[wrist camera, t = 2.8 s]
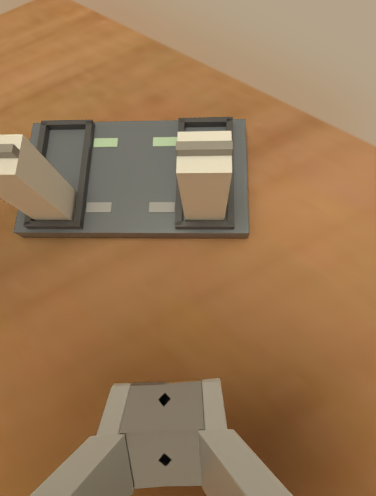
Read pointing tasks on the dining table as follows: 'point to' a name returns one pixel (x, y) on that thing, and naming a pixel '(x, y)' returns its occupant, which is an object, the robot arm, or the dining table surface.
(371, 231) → the dining table surface
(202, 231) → the grey rectangular board
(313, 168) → the dining table surface
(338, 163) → the dining table surface
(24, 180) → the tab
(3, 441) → the dining table surface
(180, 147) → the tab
